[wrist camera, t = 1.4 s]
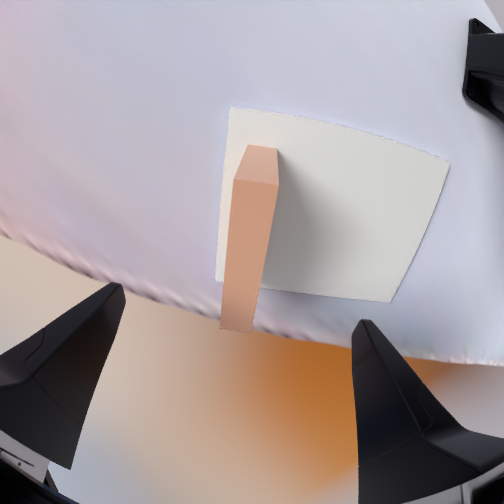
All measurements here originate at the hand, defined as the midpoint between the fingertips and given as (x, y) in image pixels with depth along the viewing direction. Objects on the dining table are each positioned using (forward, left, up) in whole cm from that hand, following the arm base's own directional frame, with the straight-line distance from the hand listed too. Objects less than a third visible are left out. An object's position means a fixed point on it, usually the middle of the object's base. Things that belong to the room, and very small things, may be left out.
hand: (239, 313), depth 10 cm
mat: (-5, 0, -9) cm, 10 cm away
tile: (0, 0, -9) cm, 9 cm away
